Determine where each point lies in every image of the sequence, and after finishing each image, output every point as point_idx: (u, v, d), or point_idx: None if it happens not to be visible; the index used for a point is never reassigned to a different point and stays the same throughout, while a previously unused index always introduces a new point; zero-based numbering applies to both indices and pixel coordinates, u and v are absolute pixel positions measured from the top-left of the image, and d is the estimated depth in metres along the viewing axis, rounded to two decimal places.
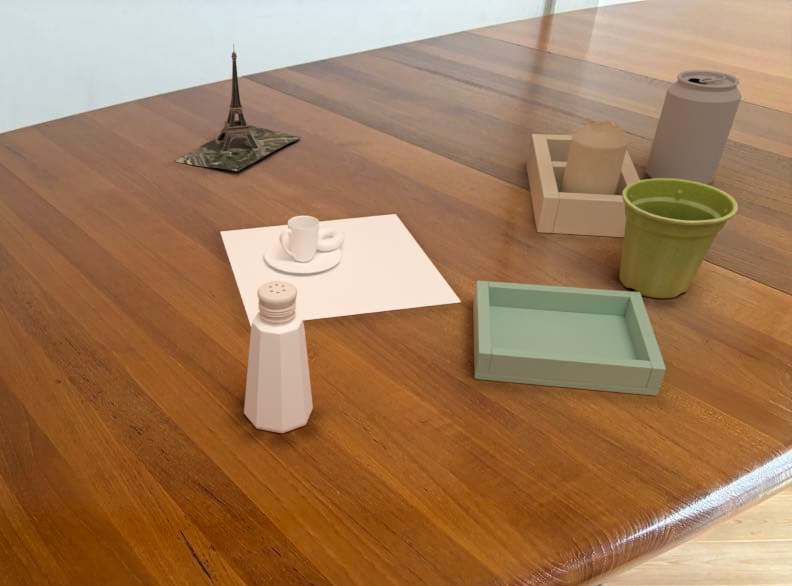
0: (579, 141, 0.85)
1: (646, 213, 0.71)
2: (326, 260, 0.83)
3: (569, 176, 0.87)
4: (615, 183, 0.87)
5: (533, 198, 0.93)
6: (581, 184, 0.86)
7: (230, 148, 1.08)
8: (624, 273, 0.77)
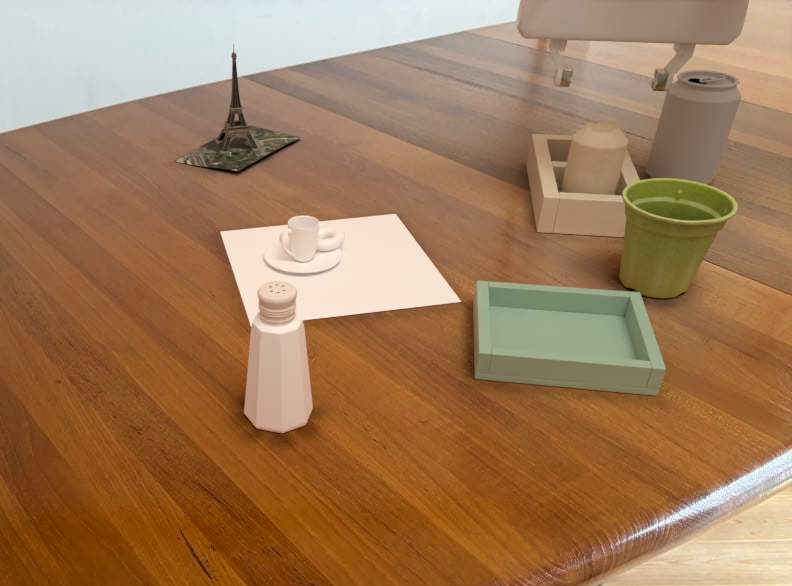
0: (579, 141, 0.85)
1: (646, 213, 0.71)
2: (326, 260, 0.83)
3: (569, 176, 0.87)
4: (615, 183, 0.87)
5: (533, 198, 0.93)
6: (581, 184, 0.86)
7: (230, 148, 1.08)
8: (624, 273, 0.77)
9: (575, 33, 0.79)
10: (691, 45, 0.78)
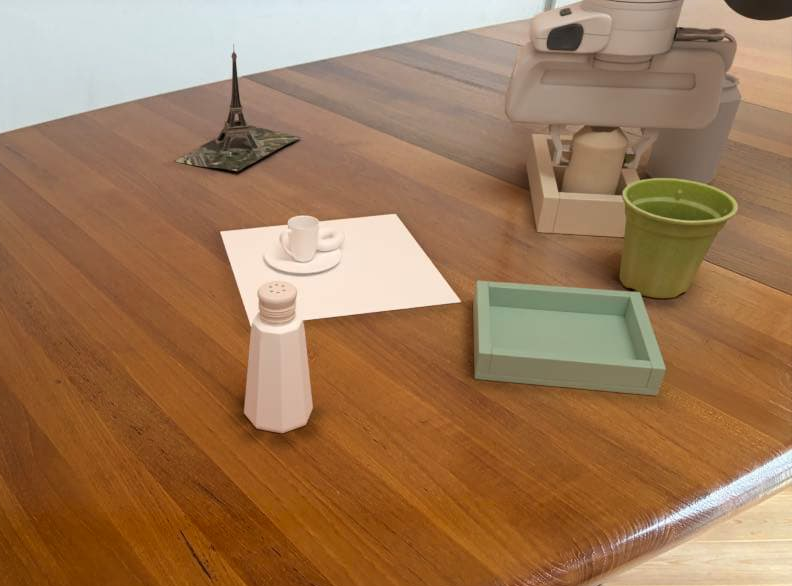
0: (579, 141, 0.85)
1: (646, 213, 0.71)
2: (326, 260, 0.83)
3: (569, 176, 0.87)
4: (615, 183, 0.87)
5: (533, 198, 0.93)
6: (581, 184, 0.86)
7: (230, 148, 1.08)
8: (624, 273, 0.77)
9: (559, 118, 0.84)
10: (656, 129, 0.83)
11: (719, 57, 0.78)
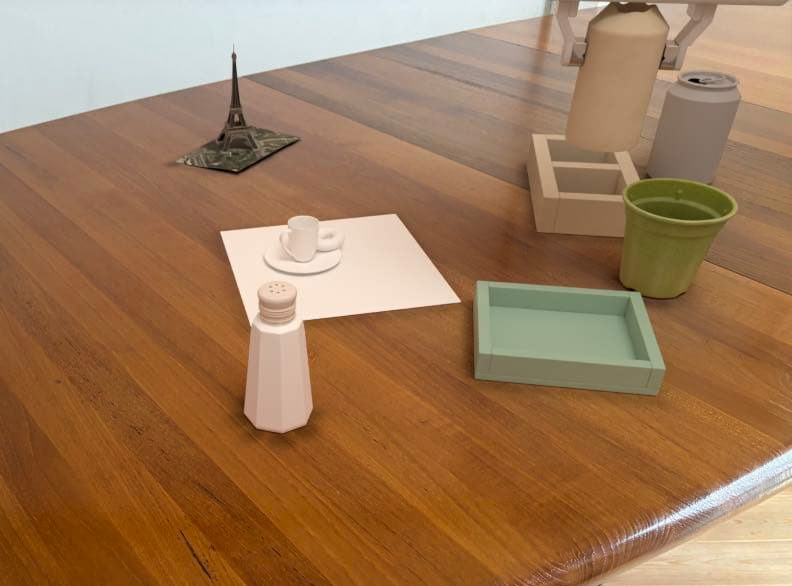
0: (598, 27, 0.59)
1: (646, 213, 0.71)
2: (326, 260, 0.83)
3: (583, 81, 0.61)
4: (649, 90, 0.60)
5: (533, 198, 0.93)
6: (601, 91, 0.60)
7: (230, 148, 1.08)
8: (624, 273, 0.77)
9: None
10: (711, 6, 0.57)
11: None
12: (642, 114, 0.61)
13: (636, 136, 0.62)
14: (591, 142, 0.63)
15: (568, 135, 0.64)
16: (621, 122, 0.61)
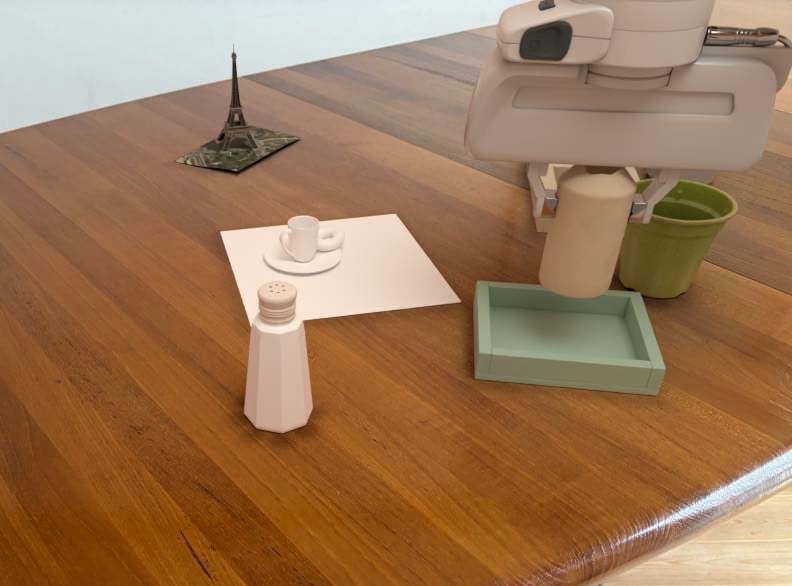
0: (568, 186, 0.61)
1: None
2: (326, 260, 0.83)
3: (554, 232, 0.63)
4: (618, 243, 0.62)
5: (533, 198, 0.93)
6: (571, 244, 0.62)
7: (230, 148, 1.08)
8: (624, 273, 0.77)
9: (540, 155, 0.59)
10: (676, 170, 0.59)
11: (770, 70, 0.53)
12: (612, 263, 0.63)
13: (607, 282, 0.64)
14: (563, 288, 0.64)
15: (542, 278, 0.66)
16: (591, 272, 0.63)
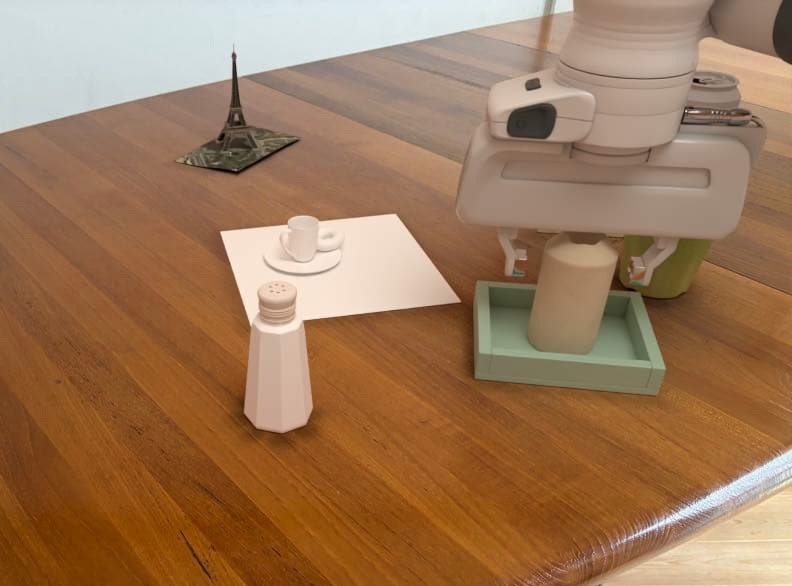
0: (553, 255, 0.64)
1: None
2: (326, 260, 0.83)
3: (541, 296, 0.67)
4: (602, 307, 0.66)
5: None
6: (557, 308, 0.66)
7: (230, 148, 1.08)
8: (624, 273, 0.77)
9: (527, 222, 0.62)
10: (674, 237, 0.62)
11: (743, 148, 0.56)
12: (596, 325, 0.67)
13: (591, 342, 0.68)
14: (550, 348, 0.68)
15: (530, 337, 0.69)
16: (576, 334, 0.66)
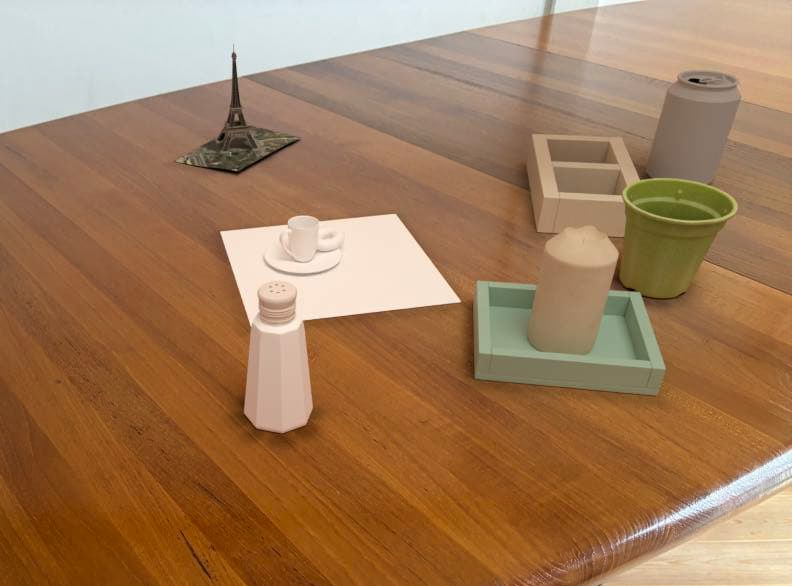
0: (553, 255, 0.64)
1: (646, 213, 0.71)
2: (326, 260, 0.83)
3: (541, 295, 0.67)
4: (602, 307, 0.66)
5: (533, 198, 0.93)
6: (557, 308, 0.66)
7: (230, 148, 1.08)
8: (624, 273, 0.77)
9: None
10: None
11: None
12: (596, 325, 0.67)
13: (591, 342, 0.68)
14: (550, 348, 0.68)
15: (530, 337, 0.69)
16: (576, 334, 0.66)
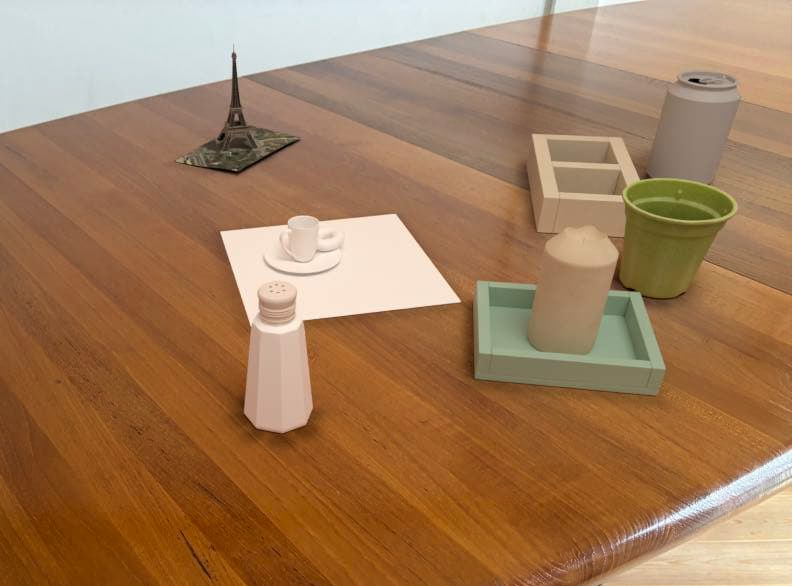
0: (553, 255, 0.64)
1: (646, 213, 0.71)
2: (326, 260, 0.83)
3: (541, 295, 0.67)
4: (602, 307, 0.66)
5: (533, 198, 0.93)
6: (557, 308, 0.66)
7: (230, 148, 1.08)
8: (624, 273, 0.77)
9: None
10: None
11: None
12: (596, 325, 0.67)
13: (591, 342, 0.68)
14: (550, 348, 0.68)
15: (530, 337, 0.69)
16: (576, 334, 0.66)
